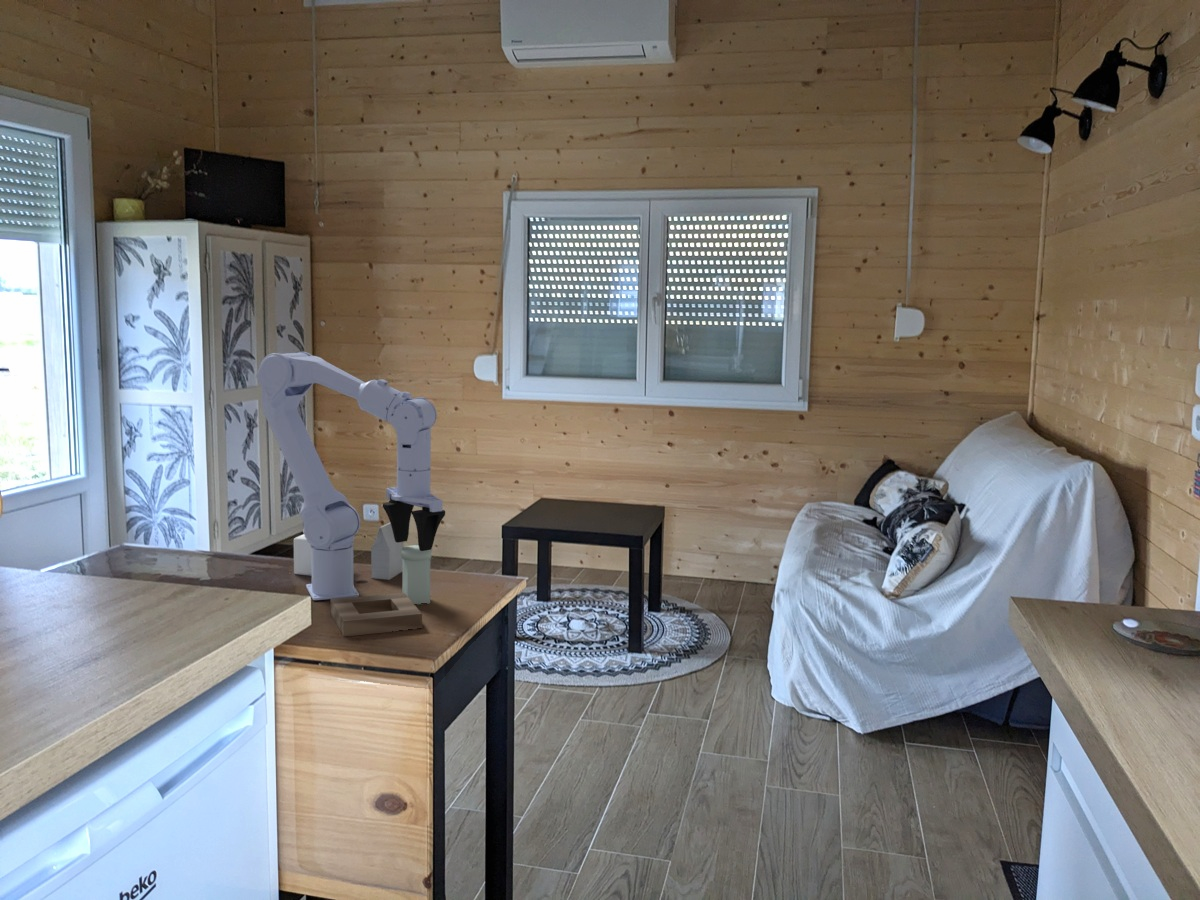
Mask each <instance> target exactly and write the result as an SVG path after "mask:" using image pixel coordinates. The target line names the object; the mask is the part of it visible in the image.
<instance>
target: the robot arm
mask: <svg viewBox="0 0 1200 900" xmlns="http://www.w3.org/2000/svg"><path fill="white" fill-rule="evenodd" d="M260 362H261V363H260V364H259V367H258V370H257V372H256V375H255V378H256V380H257V382H258V383H259V387H260V389H261V405H262V410H263V411H262V412H263V414H264V416H265V419H266V421H267V423H268V426H269V428H270V429H271V431H272V433H273V435H274V437H275V440H276V442H277V444H278V447H279V449H280V451H281V454H282V455H283V457H284V459H285V461H286V465H287V466H288V469H289V470H290V472H291V474H292V476H293V479H294V481H295V484H296V485H297V487H298V491H299V492H300V494H301V496H302V499H303V503H302V506H301V508H300V511H299V516H300V517H301V520H302V531H303V530H304V533H303V534H304V535H305V538H306V539H307V541H308V542H309V543H310V546H311V548H312V554H311V571H312V576H311V583H306V584H305V587H306V590H307V591H308V593H309V595H310V598H311V599H312V600H313V601H322V600H323V601H324V600H331V599H339V598H350V597H360V593H359V592H358V590H357V589H356V587H355V585H354V542H355V535H356V534H357V533H358V532H359V531H360V528H361V521H362V520H361V517H360V514H359V512H358V511H357V510H356V508H355V507H354V506H352V505H351V504H350V502H349V501H348V499H347V497H346V496H345V494H343V493H342V492H340V491H339V490H337V489H335V488H334V486H333V484H332V482H331V479H330V478H329V475H328V473H327V471H326V469H325V467H324V465H323V463H322V460H321V459H320V456H319V454H318V452H317V449H316V447H315V445H314V442H313V441H312V439H311V437H310V434H309V432H308V429H307V428H306V426H305V424H304V421H303V419H302V417H301V415H300V412H299V410H298V409H299V405H300V403H301V401H302V398H303V397H304V395H306V394H307V392H308V391H309V390H310V388H312V386H313V385H314V384H319V385H320V386H324V387H326V388H329V389H330V390H333V391H335V392H337V393H339V394H342V395H345V396H348V397H350V398H352V399H355V400H356V402H357V405H358V407H359V409H360V410H361V411H363V412H365V413H368V414H370V415H371V416H374V417H376V418H379V419H380V420H382V421H385V422H387V423H389V424H391V426H392V428H393V429H394V430H395V432H396V433H395V434H396V486H393V487H387V488H385V490H386V491H385V492H386V493H385V494H386V495H385V496H386V500H389V501H387V502H383V503H382V508H383V509H384V511H385V514H386V515H387V517H388V519H389V523H391V526H392V530H393V535H394V539H395V542H397V543H398V542H404V543H405V542H408V539H409V533H410V523H411V516H412V517H413V520H414V524H415V527H416V531H417V545H419V550H420V551H426V550H431V551H432V550H433V545H434V542H435V537H436V534H437V531H438V529H439V526H440V524H441V522H442V520H443V519H444V517H445V516H446V510H444V509H443V499H440V498H438V497H437V496H436V495H434V494H433V493H431V473H432V472H431V467H432V466H431V464H432V463H431V461H432V458H431V456H432V455H431V454H432V438H431V437H432V429H431V428H432V427H433V426H434V425H435V423H436V422H437V416H438V415H437V413H438V412H437V410H436V407H435V405H434V404H433V403H432V402H431V401H430V400H428V399H427V398H426V397H421V396H419V397H415V398H413V397H412V394H411V392H408V391H400V390H398V389H396V388H394V387H393V386H390V385H388V383H389V381H388V380H385V379H382V378H381V379H378V380H377V379H371V380H368V381H366V382H365V381H363V380H361V379H360V378H358V377H356V376H354V375H352V374H350V373H348V372H346V371H345V370H343V369H341V368H339V367H337V366H335V365H334V364H331V363H329V362H328V361H326V360H325V359H323V358H322V357H321V356H320V357H319V356H316V355H312V354H311V353H309V352H306V351H298V352H289V353H277V352H273V353H270V354H267V355H265V357H264V358H263V359H262V360H261V361H260ZM414 506H415V507H418V508H421V509H417V510H413V509H414Z"/></svg>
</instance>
